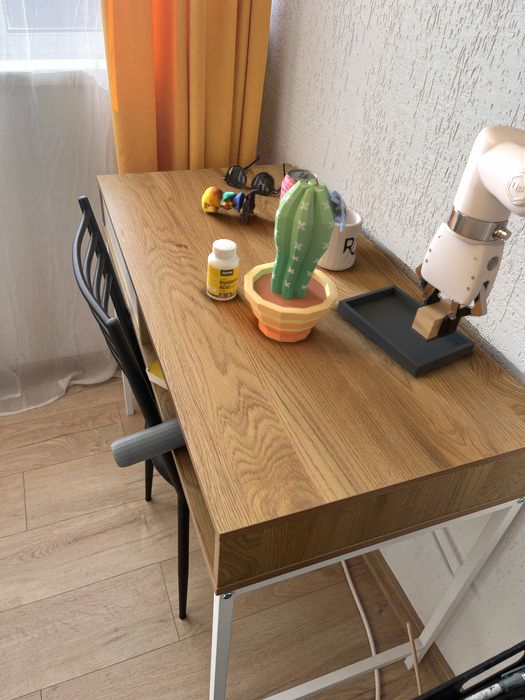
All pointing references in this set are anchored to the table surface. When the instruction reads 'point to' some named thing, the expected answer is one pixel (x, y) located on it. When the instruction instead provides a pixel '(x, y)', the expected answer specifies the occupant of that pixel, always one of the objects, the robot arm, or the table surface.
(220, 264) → the supplement bottle
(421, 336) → the wooden block
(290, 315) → the potted cactus
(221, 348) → the table surface
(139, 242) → the table surface
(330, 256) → the mug
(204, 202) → the figurine
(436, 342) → the tray
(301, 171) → the beverage can
